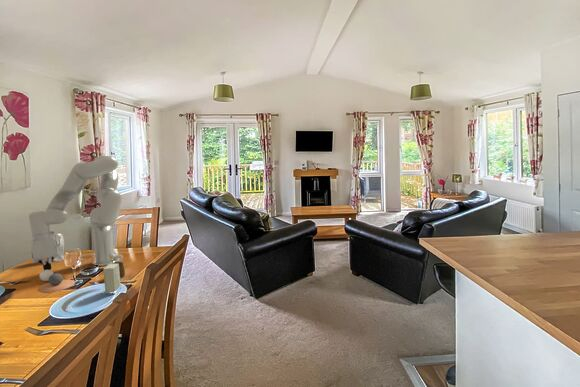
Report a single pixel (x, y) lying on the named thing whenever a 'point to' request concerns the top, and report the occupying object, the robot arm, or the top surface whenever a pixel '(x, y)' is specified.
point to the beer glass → (59, 246)
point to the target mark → (57, 286)
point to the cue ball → (45, 275)
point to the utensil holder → (121, 267)
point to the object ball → (55, 279)
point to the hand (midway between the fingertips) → (48, 271)
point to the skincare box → (111, 277)
